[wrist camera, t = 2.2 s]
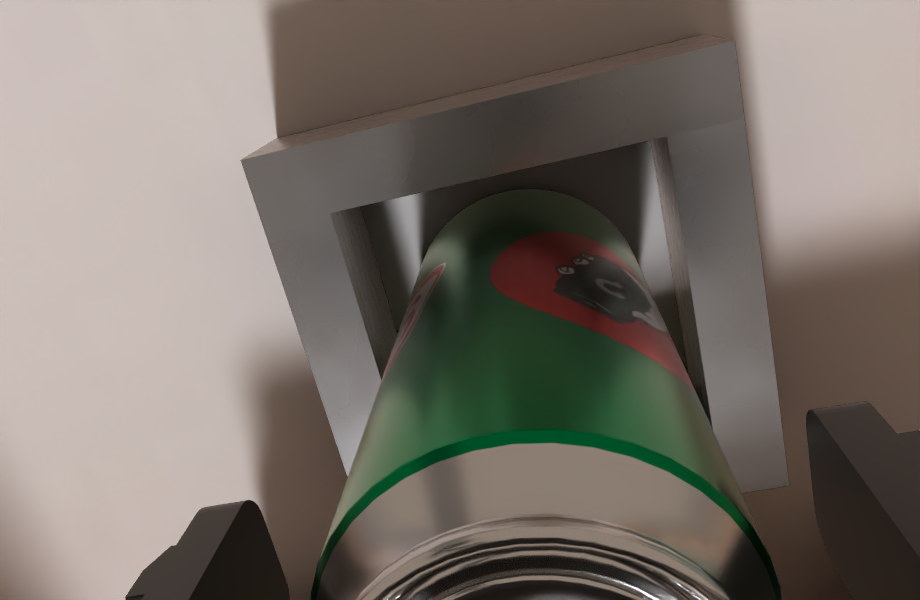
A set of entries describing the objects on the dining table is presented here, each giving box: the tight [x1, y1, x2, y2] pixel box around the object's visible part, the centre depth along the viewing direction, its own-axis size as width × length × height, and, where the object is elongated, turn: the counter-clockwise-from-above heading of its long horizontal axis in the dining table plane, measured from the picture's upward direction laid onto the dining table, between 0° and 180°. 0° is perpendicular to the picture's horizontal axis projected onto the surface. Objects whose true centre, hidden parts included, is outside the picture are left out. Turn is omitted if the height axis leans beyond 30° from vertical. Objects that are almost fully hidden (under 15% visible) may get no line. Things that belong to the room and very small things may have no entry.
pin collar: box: [241, 34, 789, 493], centre depth 18 cm, size 9×9×2 cm
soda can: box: [311, 189, 782, 600], centre depth 13 cm, size 5×5×12 cm
